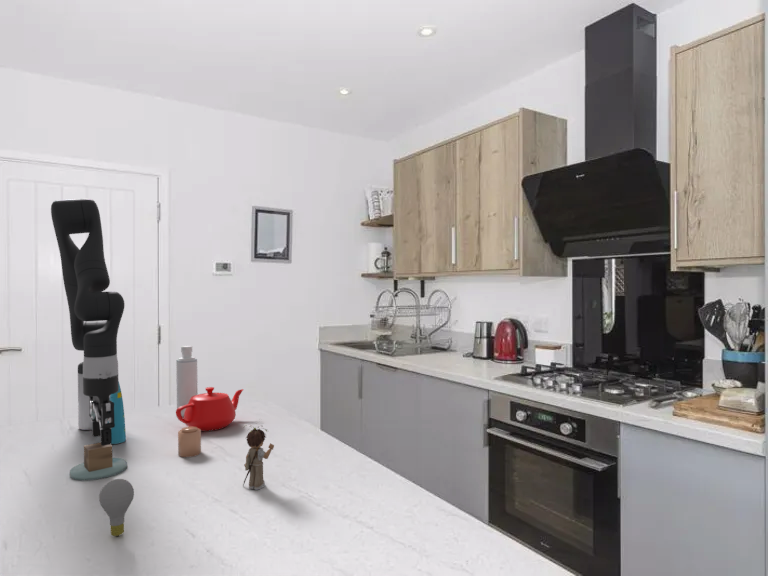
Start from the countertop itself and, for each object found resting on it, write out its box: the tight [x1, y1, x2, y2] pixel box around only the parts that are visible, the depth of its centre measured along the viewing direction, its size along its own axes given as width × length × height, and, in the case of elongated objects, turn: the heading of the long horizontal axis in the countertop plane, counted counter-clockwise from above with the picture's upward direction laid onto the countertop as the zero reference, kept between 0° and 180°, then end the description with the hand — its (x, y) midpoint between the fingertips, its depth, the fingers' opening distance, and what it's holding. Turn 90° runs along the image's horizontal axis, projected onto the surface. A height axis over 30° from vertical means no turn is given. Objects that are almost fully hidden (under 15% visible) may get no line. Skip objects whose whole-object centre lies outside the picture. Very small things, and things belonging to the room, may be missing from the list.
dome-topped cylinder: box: [177, 426, 202, 458], centre depth 135 cm, size 6×6×7 cm
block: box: [83, 441, 113, 472], centre depth 123 cm, size 5×5×5 cm
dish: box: [69, 457, 128, 481], centre depth 123 cm, size 12×12×1 cm
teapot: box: [175, 386, 244, 432], centre depth 162 cm, size 25×16×12 cm, turn 145°
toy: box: [242, 418, 275, 491], centre depth 113 cm, size 6×6×15 cm
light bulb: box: [98, 478, 135, 538], centre depth 91 cm, size 6×5×10 cm
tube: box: [108, 380, 127, 445], centre depth 146 cm, size 7×5×19 cm, turn 39°
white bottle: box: [175, 345, 199, 418], centre depth 175 cm, size 7×7×25 cm
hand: (101, 440), depth 125 cm, fingers open, 8 cm apart
